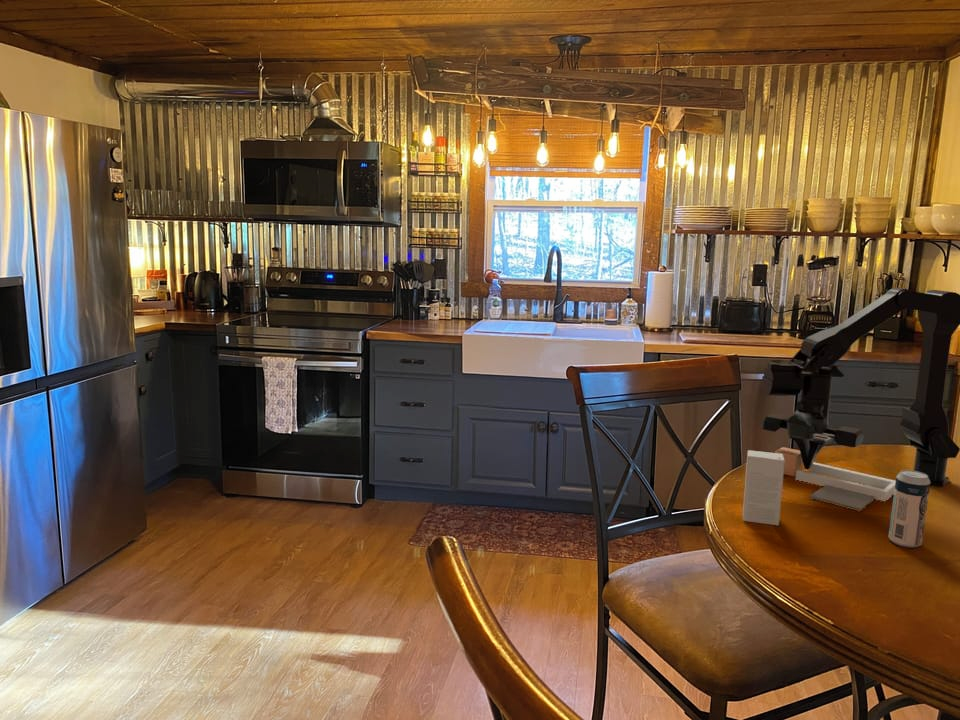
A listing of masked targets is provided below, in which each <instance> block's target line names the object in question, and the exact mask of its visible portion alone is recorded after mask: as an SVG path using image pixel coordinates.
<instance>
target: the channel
mask: <svg viewBox="0 0 960 720" xmlns="http://www.w3.org/2000/svg"><path fill="white" fill-rule="evenodd" d="M821 474H822V475H821ZM825 475H827V476H825ZM829 476H832V477H829ZM834 477H835V478H834ZM838 478H839V479H838ZM842 479H843V480H842ZM797 480H799V481H798V482H801V481H804V482H803V483H805V482H809V483H814V484H818V485H823V486H825V485H829V486H833V487H837V488H841V489H845V490H850V491H854V492H858V493H862V494H866V495H870V496H874V497H875V499H878V500H882V501H886V500H887V501H888V500H889V499H890V498H892V495H893V496H894V490H895V483H896V479H890V478H885V477H881V476H877V475H872V474H868V473H863V472H859V471H856V470H855V471H854V470H849V469H845V468H842V467H836V466H832V465H828V464H824V463H819V462H815V461H814V462H813V464H812V465H811V467H810V469H808V470H804V469H802V470H800V469H799V470H797V471H796V476H795V481H797ZM846 480H848V481H846ZM851 481H852V482H851ZM855 482H856V483H855ZM809 483H808V484H809ZM859 483H861V484H859ZM863 484H865V485H863ZM878 500H877V501H878ZM882 501H881V502H882ZM887 501H886V502H887Z"/></svg>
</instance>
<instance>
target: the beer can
mask: <svg viewBox="0 0 960 720" xmlns="http://www.w3.org/2000/svg"><path fill="white" fill-rule="evenodd" d="M895 481H896V483H895V490H894V495H893V499H892V507H891V514H890V522H889V530H888V535H887V536H888V539H889V541H891V542H892V543H894V544H895V545H898V546H900V547H904V548H913V549H914V548H917V547H920V546H922V544H923V537H924V530H925V523H926V517H927V510H928V502H929V495H930V488H931V484H930V480H929V478H928V476H927V475H926V474H924V473H921V472H918V471H913V470H912V469H902V470H901V471H899V473H897V475H896V477H895Z"/></svg>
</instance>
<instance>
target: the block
mask: <svg viewBox="0 0 960 720" xmlns="http://www.w3.org/2000/svg"><path fill="white" fill-rule="evenodd" d="M774 453H779V454H783V457H784V460H785V464H784V474H783V475H787V476H790V477H796V471H797V470H799V469H800V470H803V467H804V464H803V460H802V457H801V453H800V450H799V449H793V448H789V447H784V446H783V447H782V446H781V448H778V449H777V450H775V451H774Z"/></svg>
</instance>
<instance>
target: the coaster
mask: <svg viewBox="0 0 960 720" xmlns="http://www.w3.org/2000/svg"><path fill="white" fill-rule="evenodd" d="M810 498H813V499H818V500H822V501H826V502H830V503H834V504H838V505H842V506H845V507H849V508H853V509H857V510H861V509H863V508H864V507H865V506H866V505H867V504H869V503H870V502H871V501H872V500H874V499H875V497H874V496H870V495H866V494H862V493H858V492H854V491H850V490H845V489H841V488H837V487H833V486H829V485H825V486H824V487H821V488H819V489H818V490H817V491H815V492H813V493H812V494H810V495H809V499H810ZM813 499H812V500H813ZM874 501H875V500H874ZM872 502H873V501H872ZM872 502H871V503H872ZM871 503H870V504H871ZM870 504H869V505H870ZM865 508H866V507H865ZM865 508H864V509H865ZM864 509H863V510H864Z"/></svg>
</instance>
